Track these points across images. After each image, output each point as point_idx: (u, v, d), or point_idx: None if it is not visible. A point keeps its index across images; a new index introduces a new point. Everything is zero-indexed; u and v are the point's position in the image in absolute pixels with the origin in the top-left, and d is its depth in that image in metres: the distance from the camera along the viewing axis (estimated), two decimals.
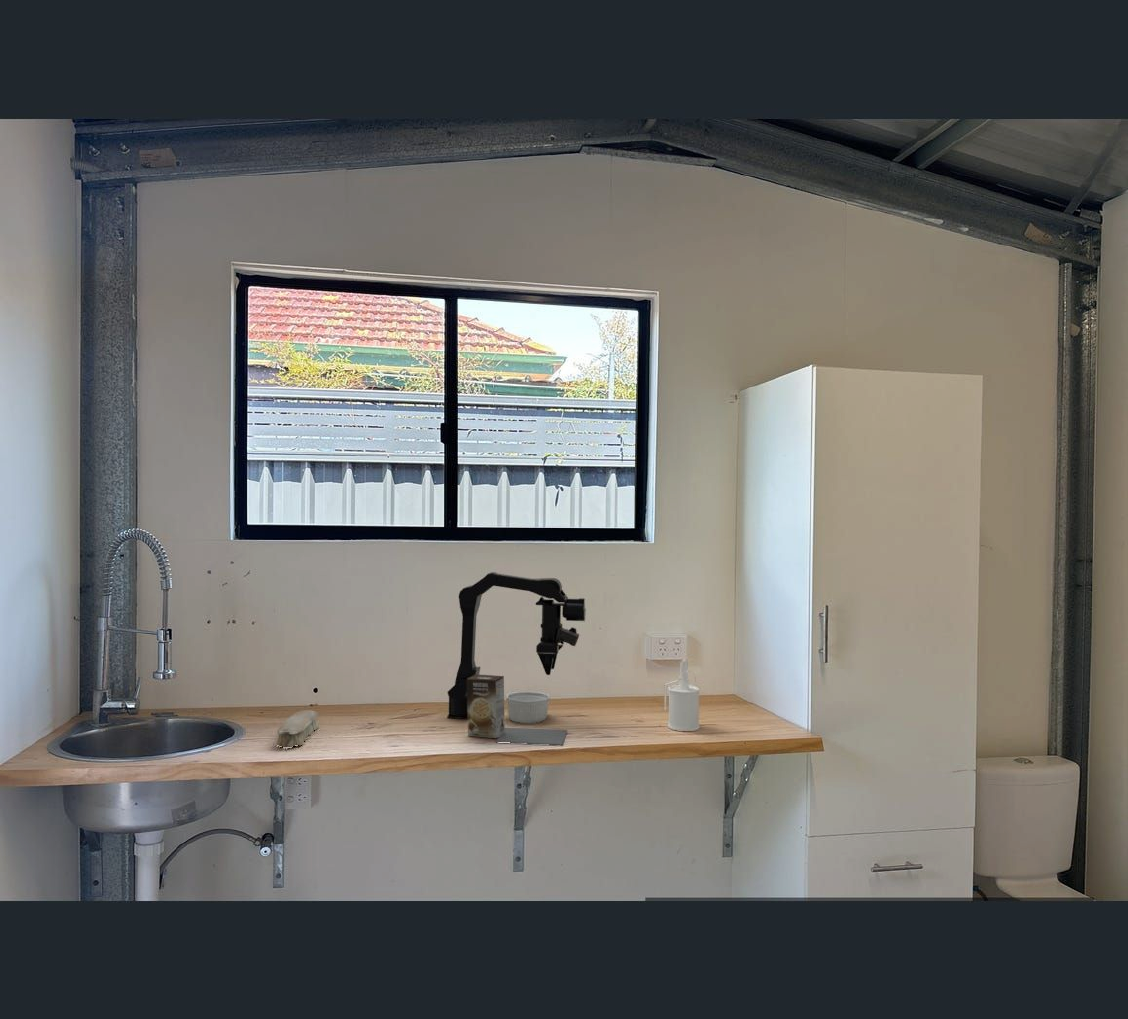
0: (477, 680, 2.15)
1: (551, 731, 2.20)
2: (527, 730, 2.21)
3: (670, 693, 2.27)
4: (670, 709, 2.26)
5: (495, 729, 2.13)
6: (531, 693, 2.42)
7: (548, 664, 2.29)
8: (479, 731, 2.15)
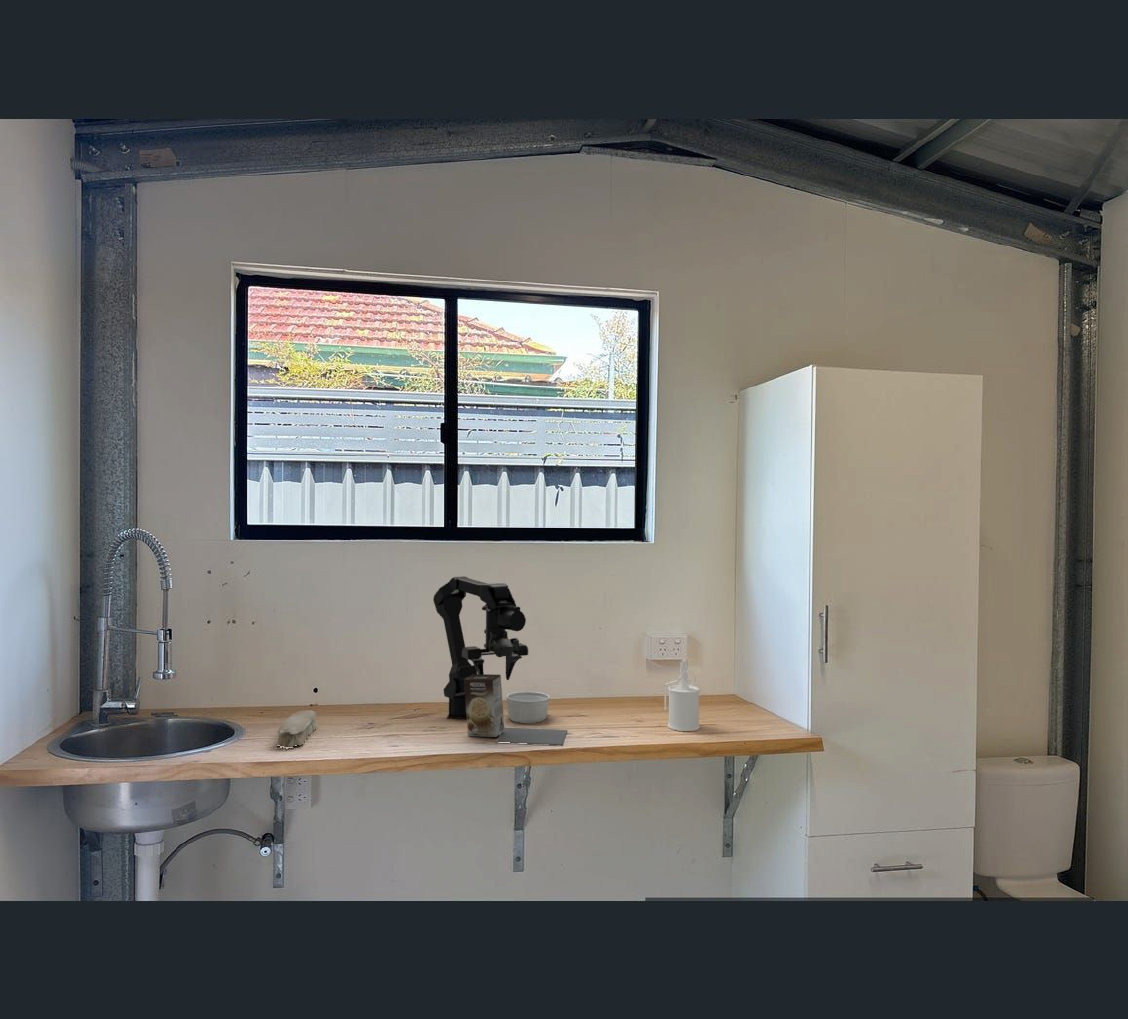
0: (474, 680, 2.15)
1: (551, 731, 2.20)
2: (527, 730, 2.21)
3: (670, 693, 2.27)
4: (670, 709, 2.26)
5: (494, 728, 2.13)
6: (531, 693, 2.42)
7: (478, 671, 2.22)
8: (479, 730, 2.15)
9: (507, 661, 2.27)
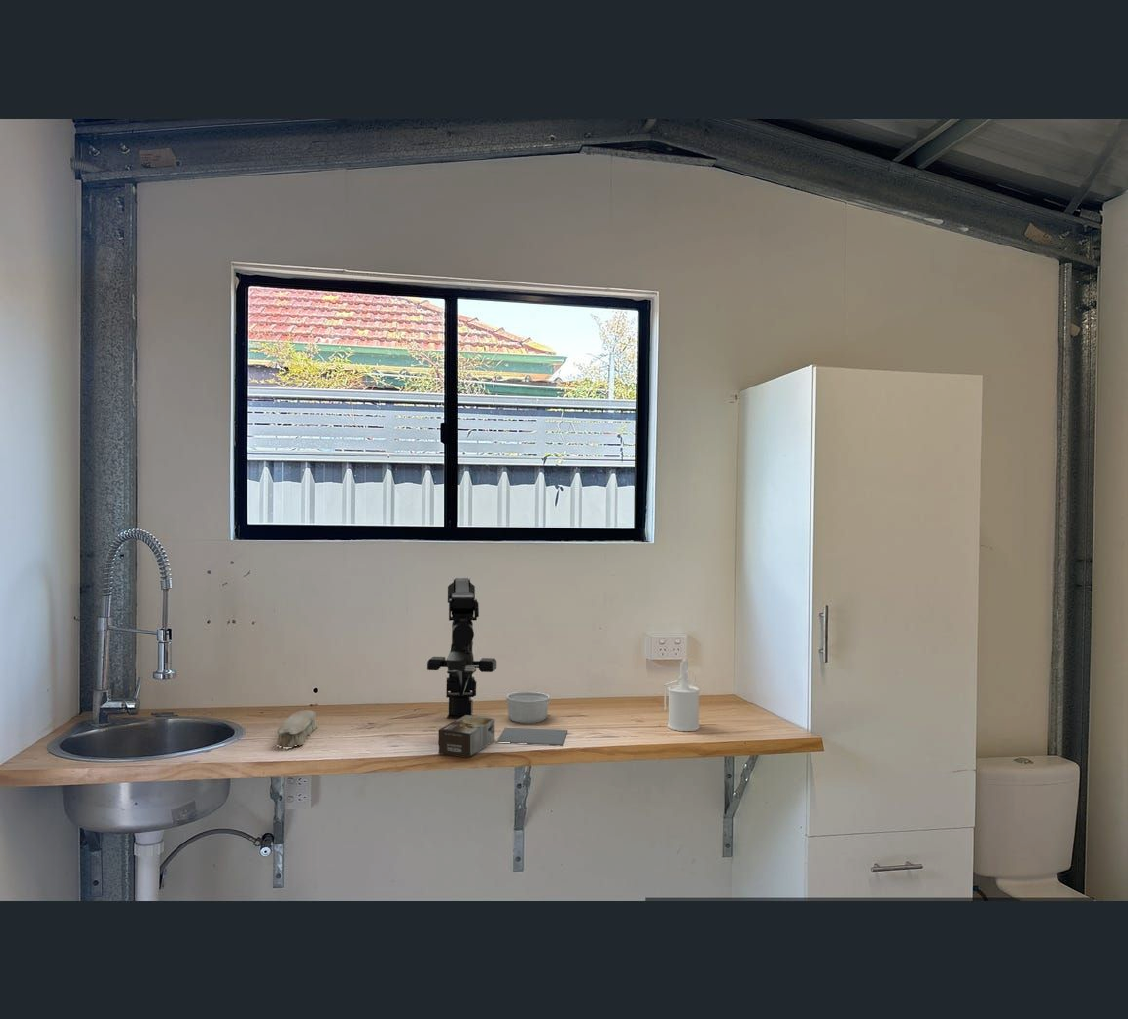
0: (450, 754, 1.99)
1: (551, 731, 2.20)
2: (527, 730, 2.21)
3: (670, 693, 2.27)
4: (670, 709, 2.26)
5: (490, 742, 2.10)
6: (531, 693, 2.42)
7: None
8: None
9: None
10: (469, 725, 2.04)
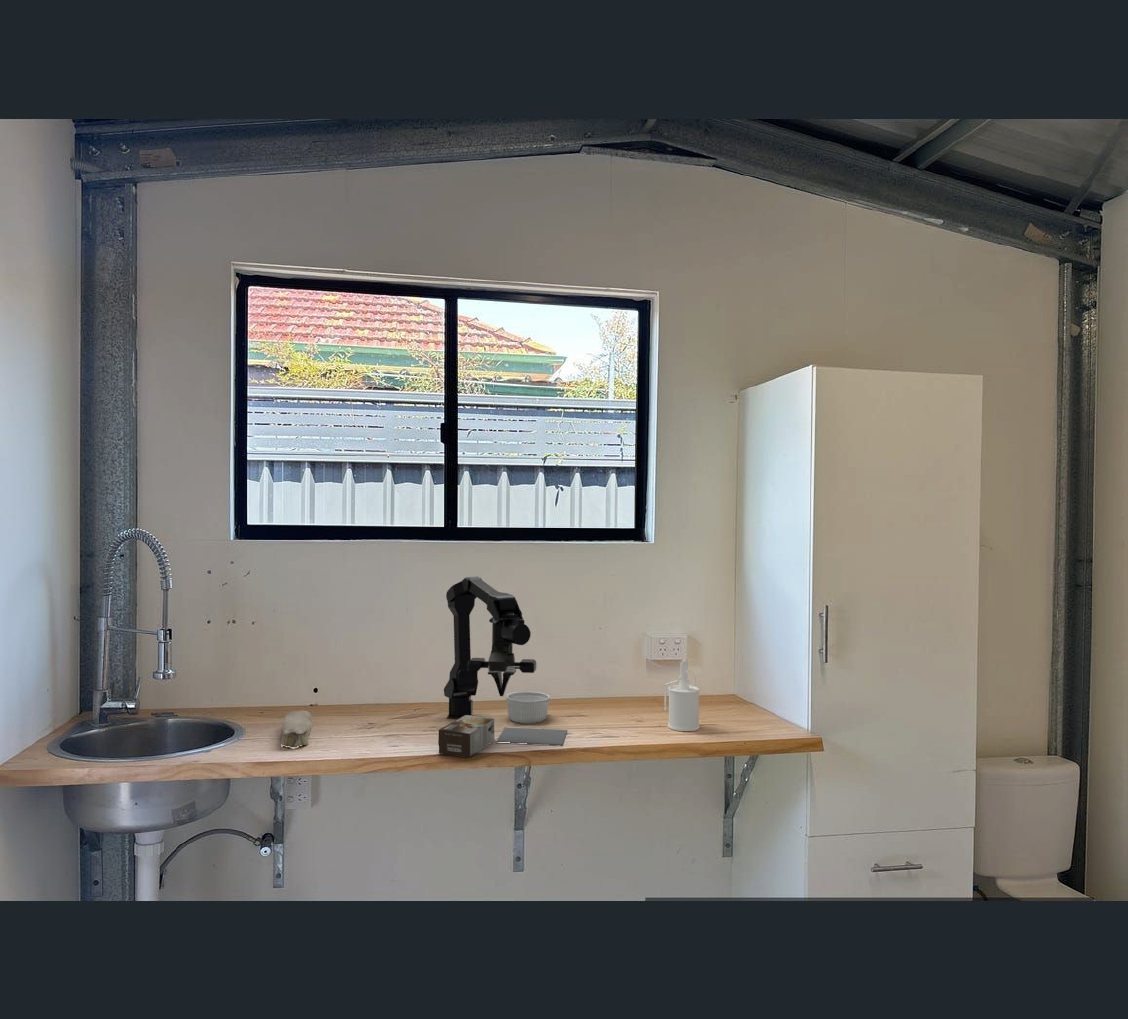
0: (450, 754, 1.99)
1: (551, 731, 2.20)
2: (527, 730, 2.21)
3: (670, 693, 2.27)
4: (670, 709, 2.26)
5: (490, 742, 2.10)
6: (531, 693, 2.42)
7: None
8: None
9: None
10: (469, 725, 2.04)
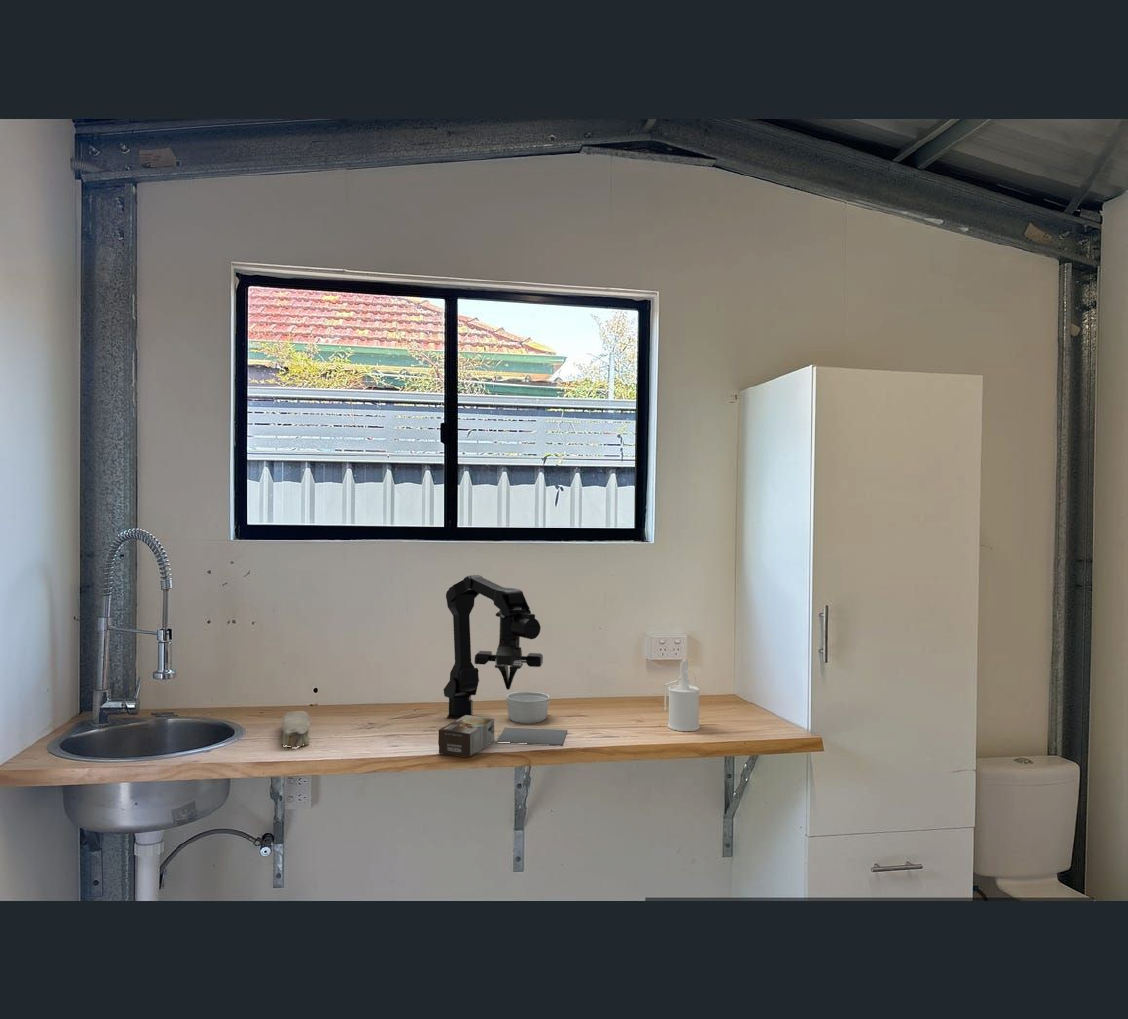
0: (450, 754, 1.99)
1: (551, 731, 2.20)
2: (527, 730, 2.21)
3: (670, 693, 2.27)
4: (670, 709, 2.26)
5: (490, 742, 2.10)
6: (531, 693, 2.42)
7: None
8: None
9: None
10: (469, 725, 2.04)
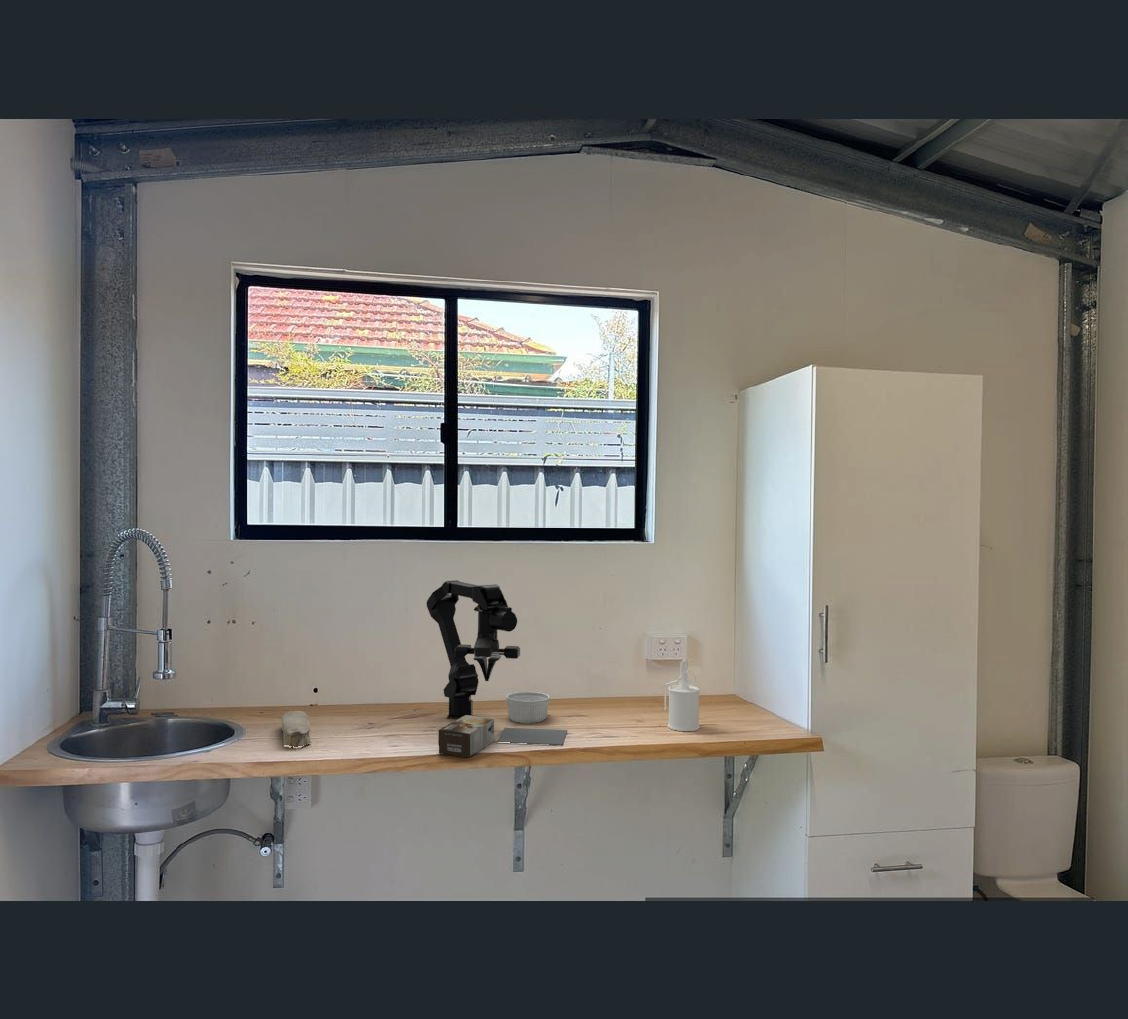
0: (450, 754, 1.99)
1: (551, 731, 2.20)
2: (527, 730, 2.21)
3: (670, 693, 2.27)
4: (670, 709, 2.26)
5: (490, 742, 2.10)
6: (531, 693, 2.42)
7: None
8: None
9: None
10: (469, 725, 2.04)
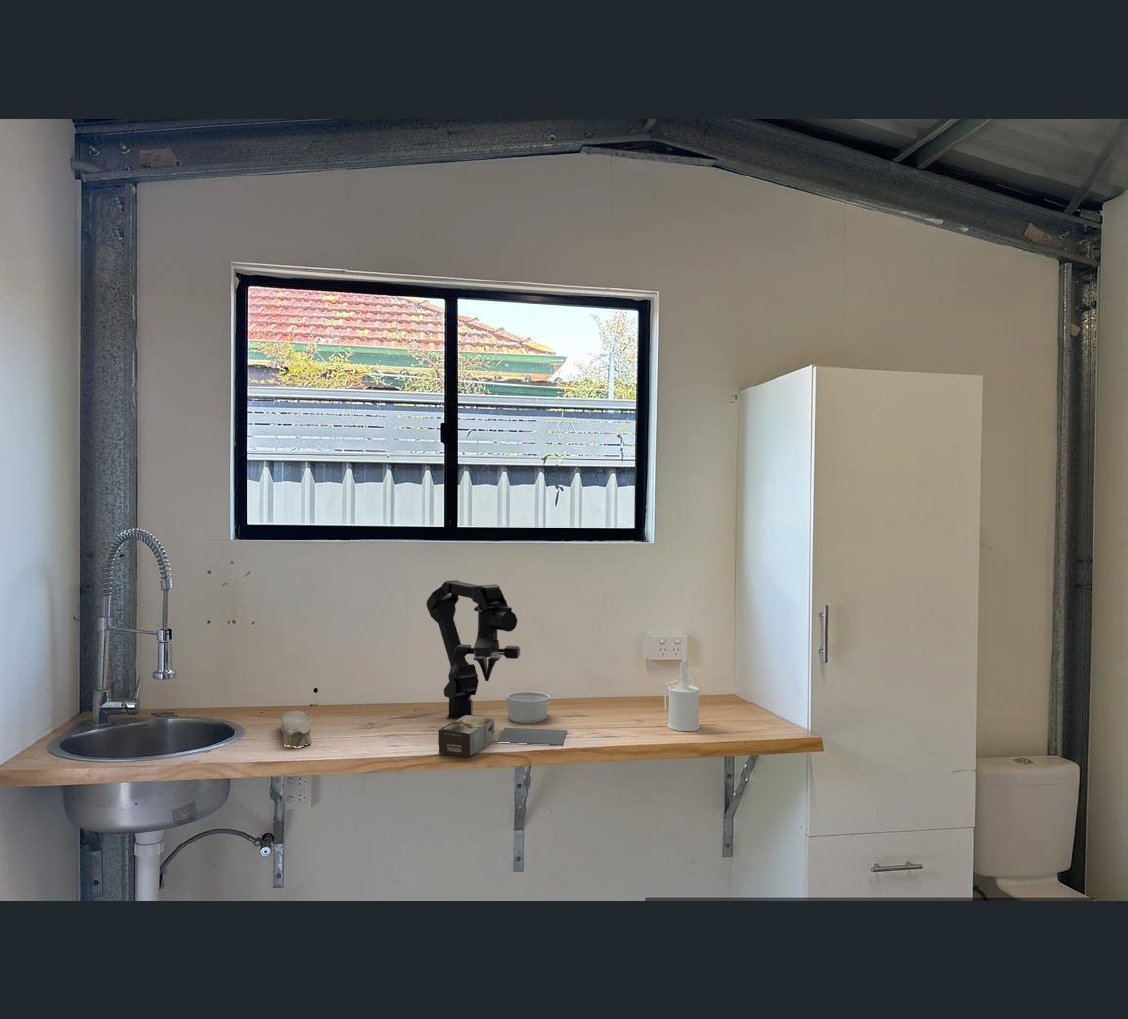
0: (450, 754, 1.99)
1: (551, 731, 2.20)
2: (527, 730, 2.21)
3: (670, 693, 2.27)
4: (670, 709, 2.26)
5: (490, 742, 2.10)
6: (531, 693, 2.42)
7: None
8: None
9: None
10: (469, 725, 2.04)
